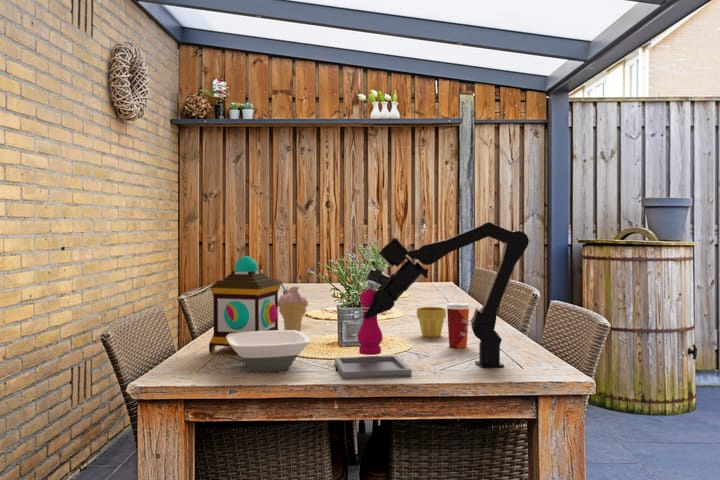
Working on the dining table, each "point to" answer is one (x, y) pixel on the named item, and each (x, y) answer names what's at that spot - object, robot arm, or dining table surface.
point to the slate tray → (372, 367)
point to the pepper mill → (369, 326)
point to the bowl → (268, 348)
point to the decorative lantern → (244, 302)
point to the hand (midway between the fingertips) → (365, 316)
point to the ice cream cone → (292, 308)
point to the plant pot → (431, 320)
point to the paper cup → (458, 324)
